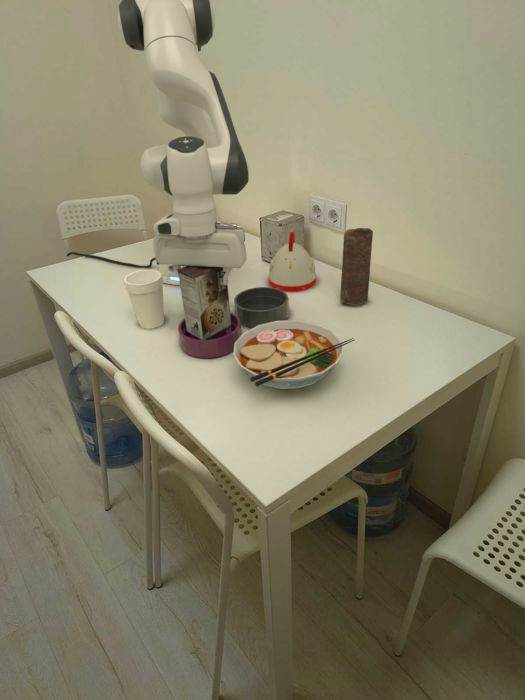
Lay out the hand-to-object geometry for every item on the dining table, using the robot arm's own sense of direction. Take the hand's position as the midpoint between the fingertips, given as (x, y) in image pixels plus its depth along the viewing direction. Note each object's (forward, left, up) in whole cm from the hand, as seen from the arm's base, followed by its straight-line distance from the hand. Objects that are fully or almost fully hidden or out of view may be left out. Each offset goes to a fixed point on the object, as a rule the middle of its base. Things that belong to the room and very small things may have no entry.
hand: (203, 283), depth 108 cm
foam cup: (-19, +7, -16) cm, 26 cm away
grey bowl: (+9, +15, -16) cm, 24 cm away
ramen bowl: (+21, -10, -16) cm, 28 cm away
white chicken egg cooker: (+13, +37, -16) cm, 42 cm away
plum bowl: (0, 0, -16) cm, 16 cm away
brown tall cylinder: (+32, +26, -16) cm, 44 cm away
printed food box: (0, 0, -12) cm, 12 cm away
